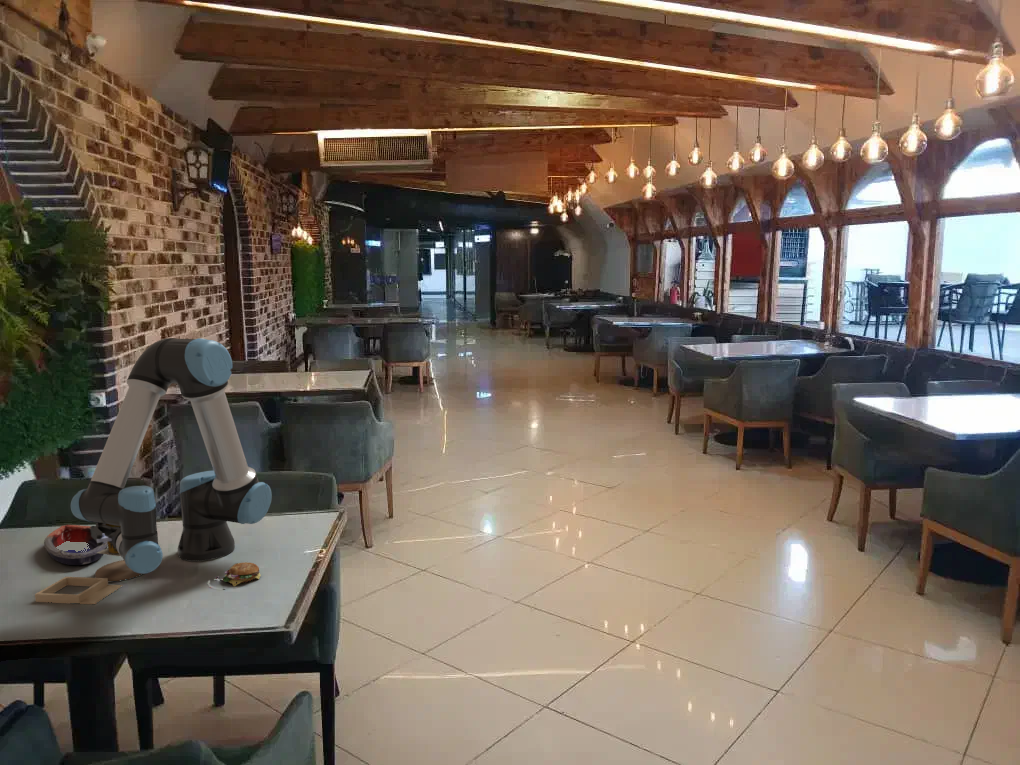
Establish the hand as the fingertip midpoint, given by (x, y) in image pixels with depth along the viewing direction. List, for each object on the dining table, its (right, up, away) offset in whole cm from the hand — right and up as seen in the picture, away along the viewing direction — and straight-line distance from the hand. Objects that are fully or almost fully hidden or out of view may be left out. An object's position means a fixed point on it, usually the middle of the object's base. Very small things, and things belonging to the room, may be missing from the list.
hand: (113, 518), depth 198 cm
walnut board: (+3, -14, -2) cm, 14 cm away
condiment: (+3, -8, -3) cm, 9 cm away
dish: (-18, -12, +13) cm, 25 cm away
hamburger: (+36, -15, -7) cm, 39 cm away
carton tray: (0, -16, -15) cm, 22 cm away
